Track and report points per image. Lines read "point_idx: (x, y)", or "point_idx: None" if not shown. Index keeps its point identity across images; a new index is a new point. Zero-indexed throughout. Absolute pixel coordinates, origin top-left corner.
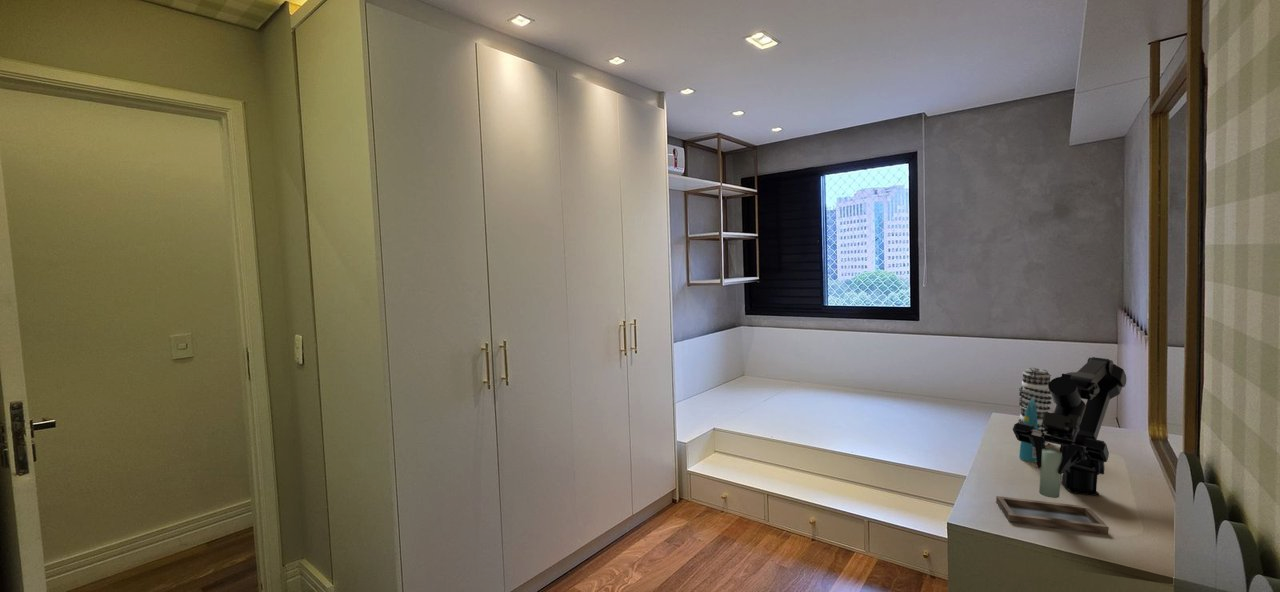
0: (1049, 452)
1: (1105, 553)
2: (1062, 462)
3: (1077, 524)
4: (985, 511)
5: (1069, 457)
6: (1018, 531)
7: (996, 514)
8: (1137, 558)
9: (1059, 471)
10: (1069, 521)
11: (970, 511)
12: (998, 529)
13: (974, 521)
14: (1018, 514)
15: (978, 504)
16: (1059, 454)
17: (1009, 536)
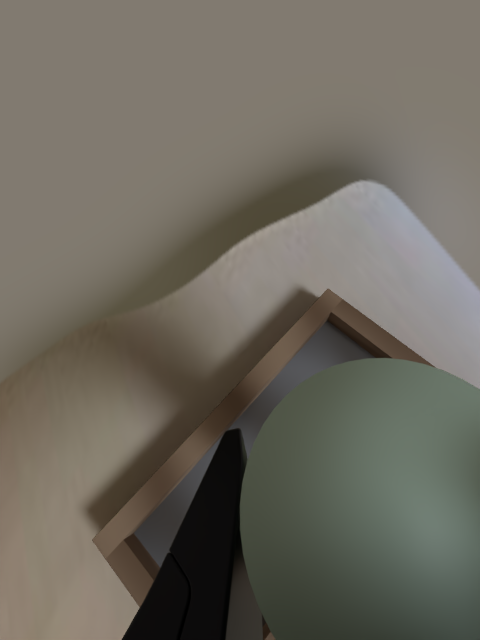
0: (385, 422)
1: (76, 371)
2: (227, 501)
3: (177, 451)
4: (407, 299)
5: (150, 616)
6: (272, 272)
7: (378, 312)
8: (6, 429)
9: (230, 429)
10: (199, 436)
11: (422, 257)
12: (304, 235)
13: (365, 217)
14: (318, 319)
15: (460, 324)
16: (252, 484)
17: (265, 228)
